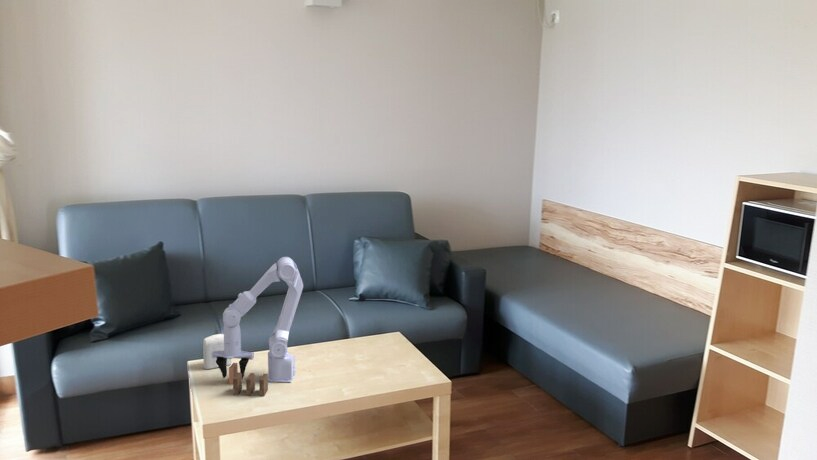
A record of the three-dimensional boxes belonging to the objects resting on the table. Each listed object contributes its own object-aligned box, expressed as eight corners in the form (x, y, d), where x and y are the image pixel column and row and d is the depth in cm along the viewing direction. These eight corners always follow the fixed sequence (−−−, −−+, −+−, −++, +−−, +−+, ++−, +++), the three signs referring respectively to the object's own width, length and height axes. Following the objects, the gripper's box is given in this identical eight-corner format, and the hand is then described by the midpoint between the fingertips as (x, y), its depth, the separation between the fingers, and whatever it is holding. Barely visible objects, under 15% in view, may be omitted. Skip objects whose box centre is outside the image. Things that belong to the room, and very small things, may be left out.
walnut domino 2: (255, 389, 214) (254, 373, 213) (250, 395, 209) (250, 379, 208) (250, 389, 214) (250, 373, 213) (246, 395, 210) (246, 379, 208)
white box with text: (229, 361, 237) (228, 330, 235) (233, 365, 234) (232, 334, 231) (202, 366, 232) (201, 335, 229) (205, 370, 228) (204, 339, 226)
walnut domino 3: (267, 389, 214) (267, 373, 213) (264, 396, 209) (263, 380, 208) (263, 389, 214) (263, 373, 213) (259, 396, 209) (259, 379, 208)
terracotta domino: (237, 378, 222) (237, 362, 221) (233, 384, 218) (233, 368, 216) (233, 378, 223) (233, 362, 221) (229, 384, 218) (228, 368, 216)
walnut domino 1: (242, 388, 215) (241, 372, 213) (237, 395, 210) (237, 379, 208) (237, 388, 215) (237, 372, 213) (233, 395, 210) (232, 378, 208)
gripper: (207, 344, 213) (209, 381, 216) (249, 346, 213) (250, 382, 216) (214, 337, 220) (216, 372, 223) (255, 338, 220) (256, 374, 222)
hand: (233, 377), depth 220 cm, fingers open, 6 cm apart
